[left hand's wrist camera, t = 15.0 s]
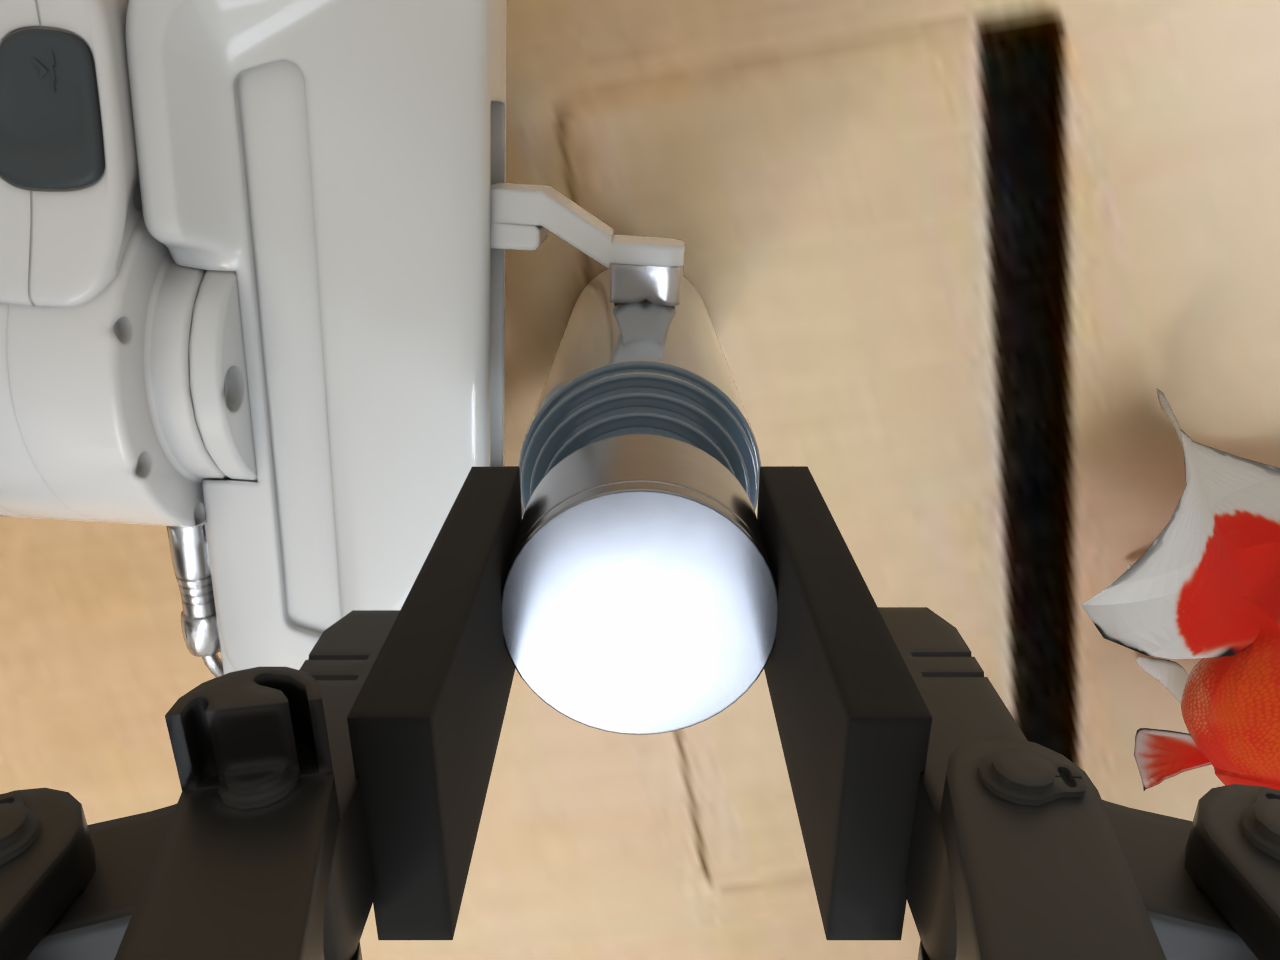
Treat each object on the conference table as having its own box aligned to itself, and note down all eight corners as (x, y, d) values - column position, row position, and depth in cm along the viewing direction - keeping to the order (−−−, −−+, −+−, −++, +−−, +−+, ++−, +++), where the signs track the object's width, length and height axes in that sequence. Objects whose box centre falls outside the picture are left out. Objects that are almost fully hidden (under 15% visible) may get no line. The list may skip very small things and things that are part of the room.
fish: (1016, 852, 32) (1295, 969, 23) (959, 421, 33) (1202, 359, 24) (1238, 795, 35) (1563, 876, 26) (1179, 405, 36) (1470, 345, 27)
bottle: (690, 243, 29) (762, 407, 12) (724, 379, 31) (832, 696, 13) (551, 283, 29) (428, 497, 12) (593, 414, 31) (535, 766, 14)
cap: (487, 467, 14) (460, 528, 12) (730, 406, 14) (747, 457, 12) (559, 671, 15) (545, 759, 13) (780, 621, 15) (804, 703, 13)
